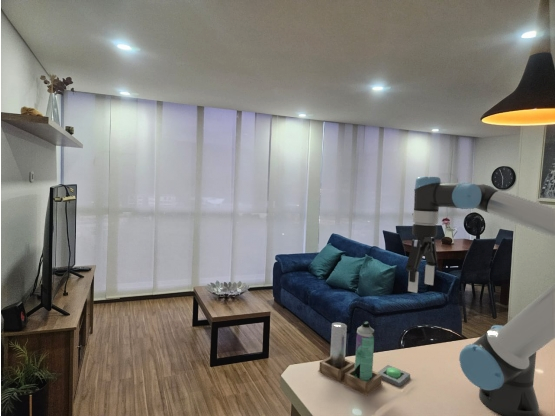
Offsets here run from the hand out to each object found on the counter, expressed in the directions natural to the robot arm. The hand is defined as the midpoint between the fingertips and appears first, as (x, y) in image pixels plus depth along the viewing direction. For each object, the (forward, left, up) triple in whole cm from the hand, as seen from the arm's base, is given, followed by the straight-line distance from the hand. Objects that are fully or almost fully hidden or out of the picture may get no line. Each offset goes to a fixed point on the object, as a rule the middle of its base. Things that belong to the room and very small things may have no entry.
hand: (421, 288), depth 117 cm
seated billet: (+20, +17, -30) cm, 40 cm away
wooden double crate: (+15, +17, -32) cm, 39 cm away
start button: (+5, +6, -31) cm, 32 cm away
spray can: (+10, +17, -31) cm, 36 cm away
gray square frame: (+5, +6, -32) cm, 33 cm away
